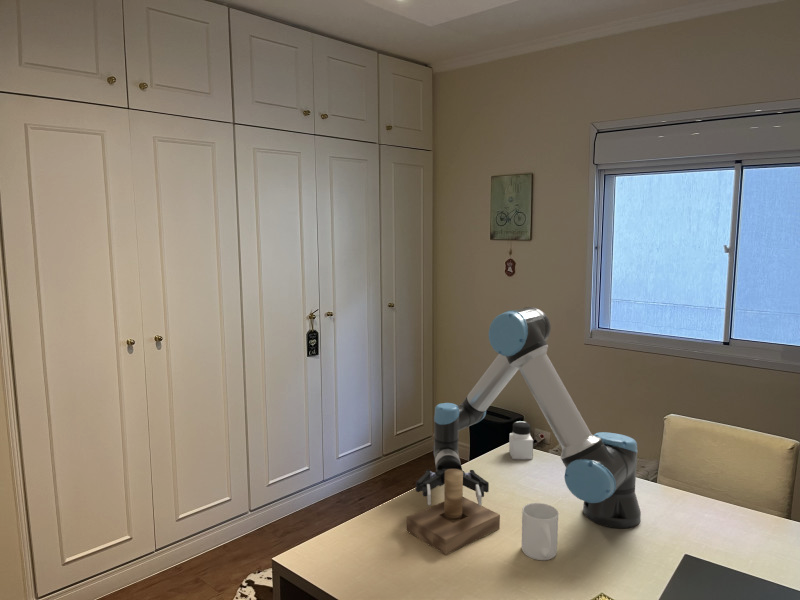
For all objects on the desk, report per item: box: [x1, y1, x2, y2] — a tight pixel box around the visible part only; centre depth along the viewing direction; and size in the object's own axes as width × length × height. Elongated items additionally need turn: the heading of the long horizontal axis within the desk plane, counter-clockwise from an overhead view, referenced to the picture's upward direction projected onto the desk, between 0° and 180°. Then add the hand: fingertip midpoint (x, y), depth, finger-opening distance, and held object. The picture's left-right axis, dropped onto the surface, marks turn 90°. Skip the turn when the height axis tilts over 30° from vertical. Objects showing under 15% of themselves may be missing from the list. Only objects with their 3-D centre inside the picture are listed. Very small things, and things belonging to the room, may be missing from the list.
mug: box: [521, 502, 559, 561], centre depth 142 cm, size 9×12×11 cm
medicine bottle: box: [508, 420, 534, 460], centre depth 206 cm, size 7×7×12 cm
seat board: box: [405, 496, 501, 556], centre depth 155 cm, size 15×20×4 cm
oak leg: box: [443, 469, 464, 523], centre depth 154 cm, size 5×5×16 cm
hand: (454, 500), depth 150 cm, fingers open, 12 cm apart
